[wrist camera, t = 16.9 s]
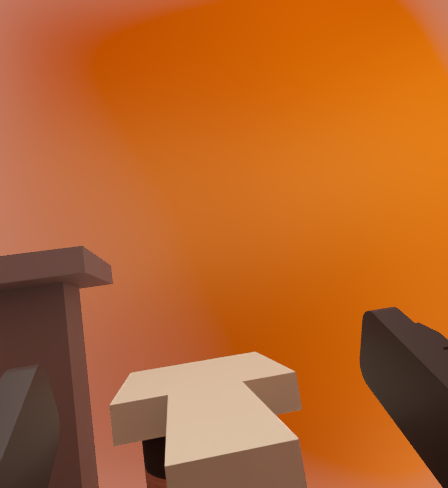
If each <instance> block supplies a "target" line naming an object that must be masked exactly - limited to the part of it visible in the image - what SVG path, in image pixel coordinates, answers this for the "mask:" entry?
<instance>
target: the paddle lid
mask: <svg viewBox="0 0 448 488" xmlns="http://www.w3.org/2000/svg"><path fill="white" fill-rule="evenodd" d="M109 406H110V415H111V425H112V435H113V443H114V446H117V445H122V444H127V443H132V442H138V441H143V440H148V439H153V438H159V437H164V436H166V447H165V474H166V482H167V488H307V485H306V478H305V472H304V466H303V460H302V455H301V448H300V442H299V439H298V437H297V436H296V435H295V434H294V433H293V432H292V431H291V430H290V429H289V428H288V427H287V426H286V425H285V424H284V423H283V422H282V421H281V420H280V419H279V418H278V417H277V416H276V415H277V414H282V413H287V412H292V411H297V410H302V407H301V402H300V395H299V389H298V383H297V377H296V372H295V371H293V370H291V369H289V368H287V367H285V366H283V365H281V364H279V363H277V362H275V361H273V360H271V359H269V358H267V357H265V356H263V355H261V354H259V353H257V352H251V353H245V354H240V355H234V356H228V357H221V358H216V359H210V360H204V361H198V362H192V363H187V364H180V365H174V366H169V367H163V368H157V369H151V370H145V371H139V372H133V373H130V375H129V376H128V378H127V379H126V381H125V382H124V384H123V385H122V387H121V388H120V390H119V392H118V393H117V395H116V396H115V398H114V399H113V401H112V402H111V404H110V405H109Z"/></svg>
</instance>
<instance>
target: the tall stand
mask: <svg viewBox="0 0 448 488" xmlns="http://www.w3.org/2000/svg"><path fill="white" fill-rule="evenodd" d="M108 284H113V282H112V272H111V266H110V265H109V264H108V263H106V262H105V261H103V260H102V259H100V258H99V257H98V256H96V255H95V254H93V253H92V252H90V251H89V250H88V249H86V248H85V247H83V246H78V247H71V248H63V249H54V250H46V251H38V252H30V253H22V254H14V255H6V256H0V380H1V378H2V376H3V374H4V372H5V371H6V370H7V369H12V368H19V367H25V366H31V365H37V364H43V365H44V367H45V368H46V371H47V374H48V378H49V381H50V385H51V388H52V392H53V396H54V399H55V403H56V406H57V410H58V413H59V419H60V440H59V445H58V449H57V453H56V457H55V461H54V465H53V469H52V474H51V478H50V482H49V486H48V488H99V486H98V476H97V466H96V456H95V445H94V436H93V427H92V415H91V405H90V395H89V385H88V374H87V364H86V354H85V345H84V335H83V324H82V313H81V304H80V293H79V288H86V287H93V286H101V285H108Z"/></svg>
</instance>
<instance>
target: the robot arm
mask: <svg viewBox="0 0 448 488" xmlns="http://www.w3.org/2000/svg"><path fill="white" fill-rule="evenodd" d="M360 368H361V372H362V375H363V378H364V380H365V382H366V384H367V385H368V387H369V388H370V389H371V391H372V392H373V393H374V395H375V396H376V397H377V399H378V400H379V401H380V403H381V404H382V406H383V407H384V408H385V410H386V411H387V412H388V414H389V415H390V416H391V418H392V419H393V420H394V422H395V423H396V425H397V426H398V427H399V428H400V430H401V431H402V433H403V434H404V435H405V437H406V438H407V440H408V441H409V442H410V444H411V445H412V446H413V448H414V449H415V450H416V452H417V453H418V454H419V456H420V457H421V459H422V460H423V461H424V463H425V464H426V465H427V467H428V468H429V469H430V471H431V472H432V473H433V475H434V476H435V477H436V479H437V480H438V482H439V483H440V484H441V486H442V487H443V488H448V340H447V339H446V338H445V337H444V336H443V335H441V334H440V333H439V332H437V331H435V330H433V329H431V328H429V327H427V326H425V325H422V324H420V323H414V322H413V321H411V320H410V319H409V318H408V317H407V316H406V315H405V314H403V313H402V312H401V311H400V310H399V309H398V308H396V307H390V308H385V309H378V310H371V311H367V312H365V313H364V315H363V320H362V335H361V349H360ZM59 440H60V419H59V413H58V410H57V406H56V403H55V399H54V396H53V392H52V388H51V385H50V381H49V378H48V374H47V371H46V368H45V367H44V365H43V364H37V365H31V366H25V367H19V368H12V369H7V370H6V371H5V372H4V374H3V376H2V378H1V380H0V488H48V486H49V482H50V478H51V474H52V469H53V465H54V461H55V457H56V453H57V449H58V445H59Z"/></svg>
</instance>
